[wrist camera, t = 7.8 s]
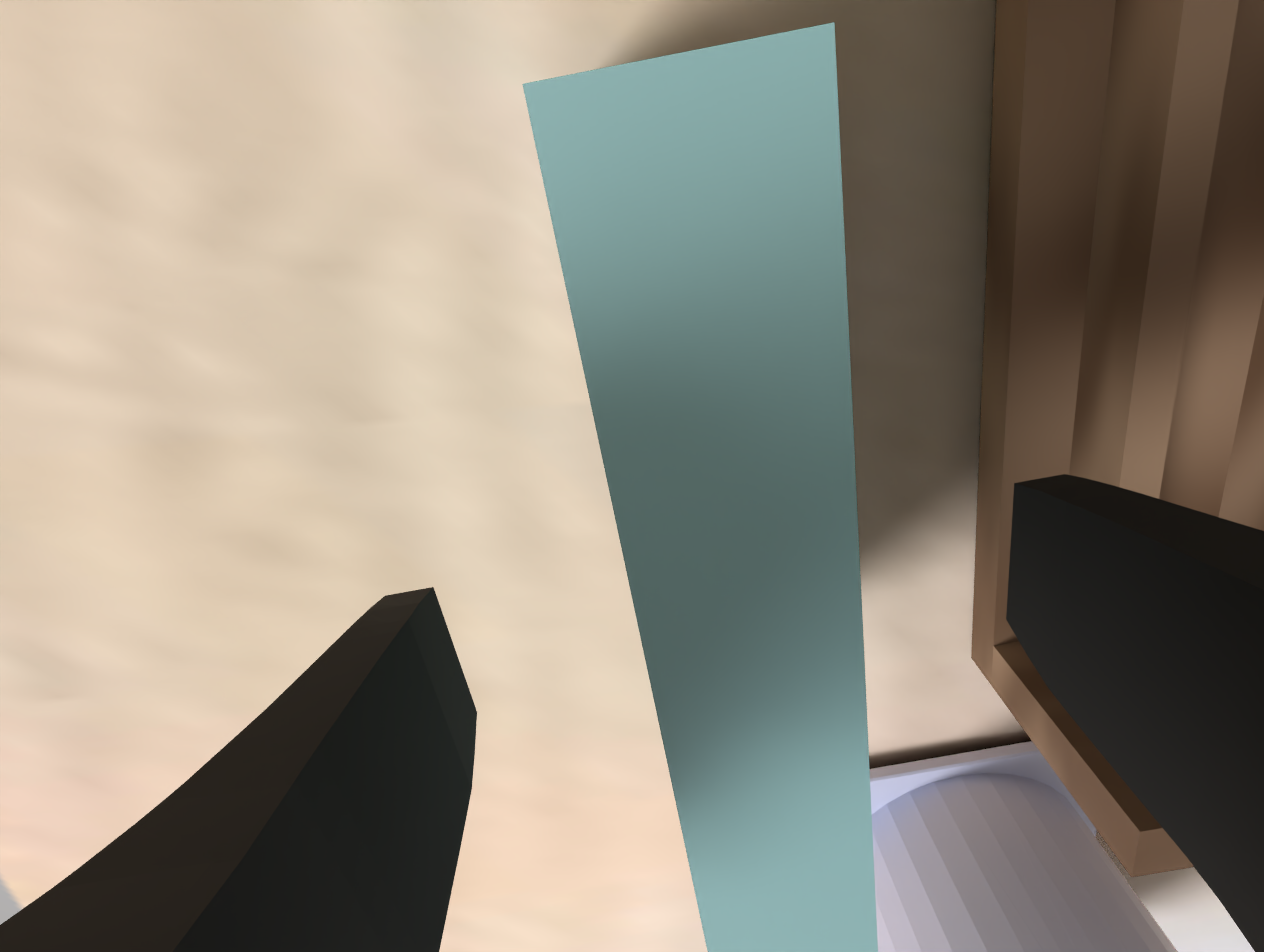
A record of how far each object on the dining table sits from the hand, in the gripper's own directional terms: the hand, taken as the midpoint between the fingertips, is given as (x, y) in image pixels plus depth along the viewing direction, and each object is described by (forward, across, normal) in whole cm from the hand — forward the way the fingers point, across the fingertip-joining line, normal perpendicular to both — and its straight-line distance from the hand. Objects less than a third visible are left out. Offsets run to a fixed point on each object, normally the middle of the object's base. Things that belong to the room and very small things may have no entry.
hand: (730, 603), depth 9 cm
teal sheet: (+7, 0, 0) cm, 7 cm away
